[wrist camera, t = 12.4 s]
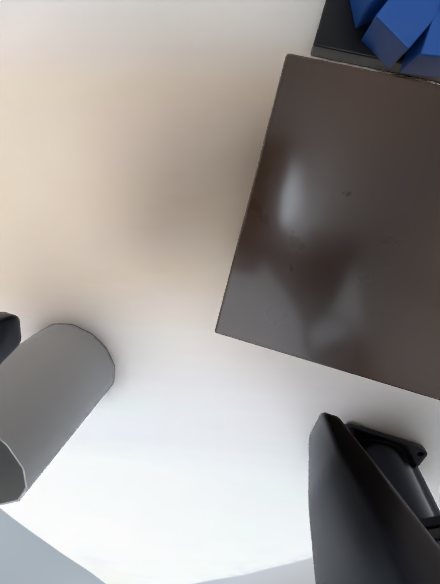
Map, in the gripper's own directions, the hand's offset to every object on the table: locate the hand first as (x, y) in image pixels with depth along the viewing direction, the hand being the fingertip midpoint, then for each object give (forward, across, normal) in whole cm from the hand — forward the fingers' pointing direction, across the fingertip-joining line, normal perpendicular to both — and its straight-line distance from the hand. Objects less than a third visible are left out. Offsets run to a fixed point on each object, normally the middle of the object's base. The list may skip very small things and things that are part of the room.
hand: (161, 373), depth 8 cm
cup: (+13, +12, +14) cm, 23 cm away
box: (+13, -6, -4) cm, 15 cm away
